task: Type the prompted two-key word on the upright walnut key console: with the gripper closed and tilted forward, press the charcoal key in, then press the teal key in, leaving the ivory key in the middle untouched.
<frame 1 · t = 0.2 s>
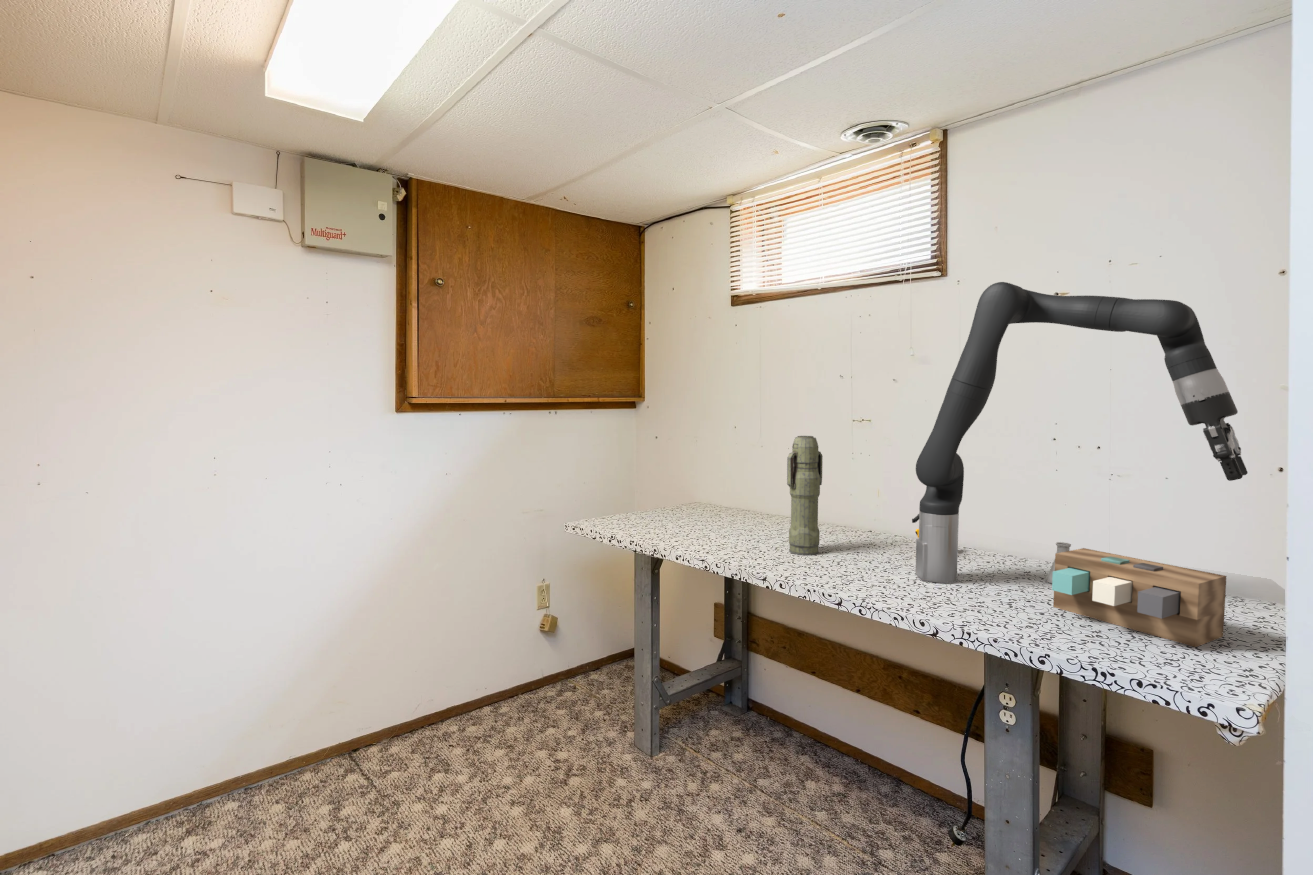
hand: (1238, 477, 120), 31 cm above the table, tool tilted 20°, fingers open, 8 cm apart
key ivory: (1117, 589, 129), point 7 cm above the table, slide at 0.0 cm
flask: (1061, 583, 160), on the table
console: (1118, 625, 130), on the table
robot dog: (928, 556, 188), on the table
thermos: (803, 552, 192), on the table
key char: (1163, 600, 122), point 7 cm above the table, slide at 0.0 cm
key teal: (1075, 579, 136), point 7 cm above the table, slide at 0.0 cm
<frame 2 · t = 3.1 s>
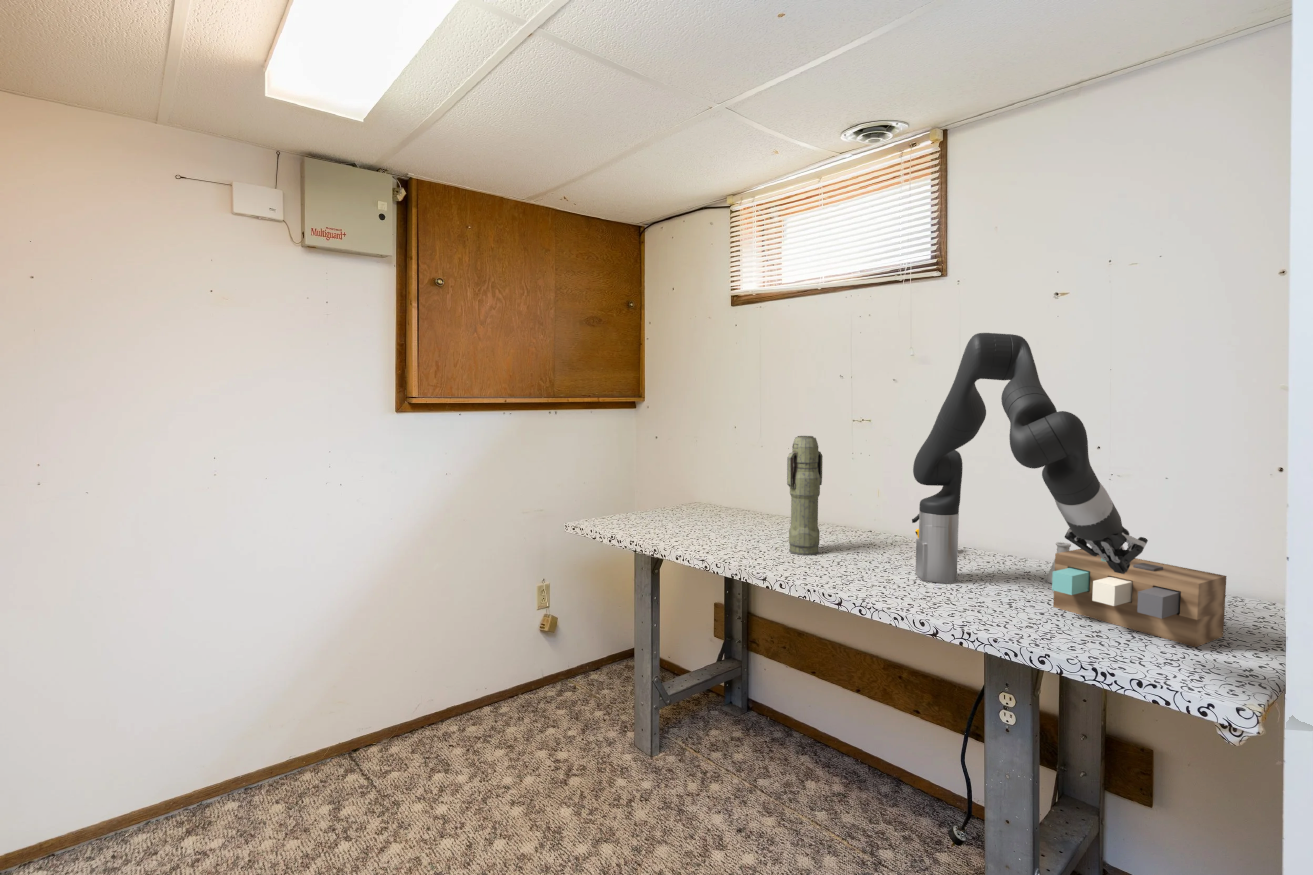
hand: (1121, 569, 114), 16 cm above the table, tool tilted 45°, fingers closed
nothing on the table moved.
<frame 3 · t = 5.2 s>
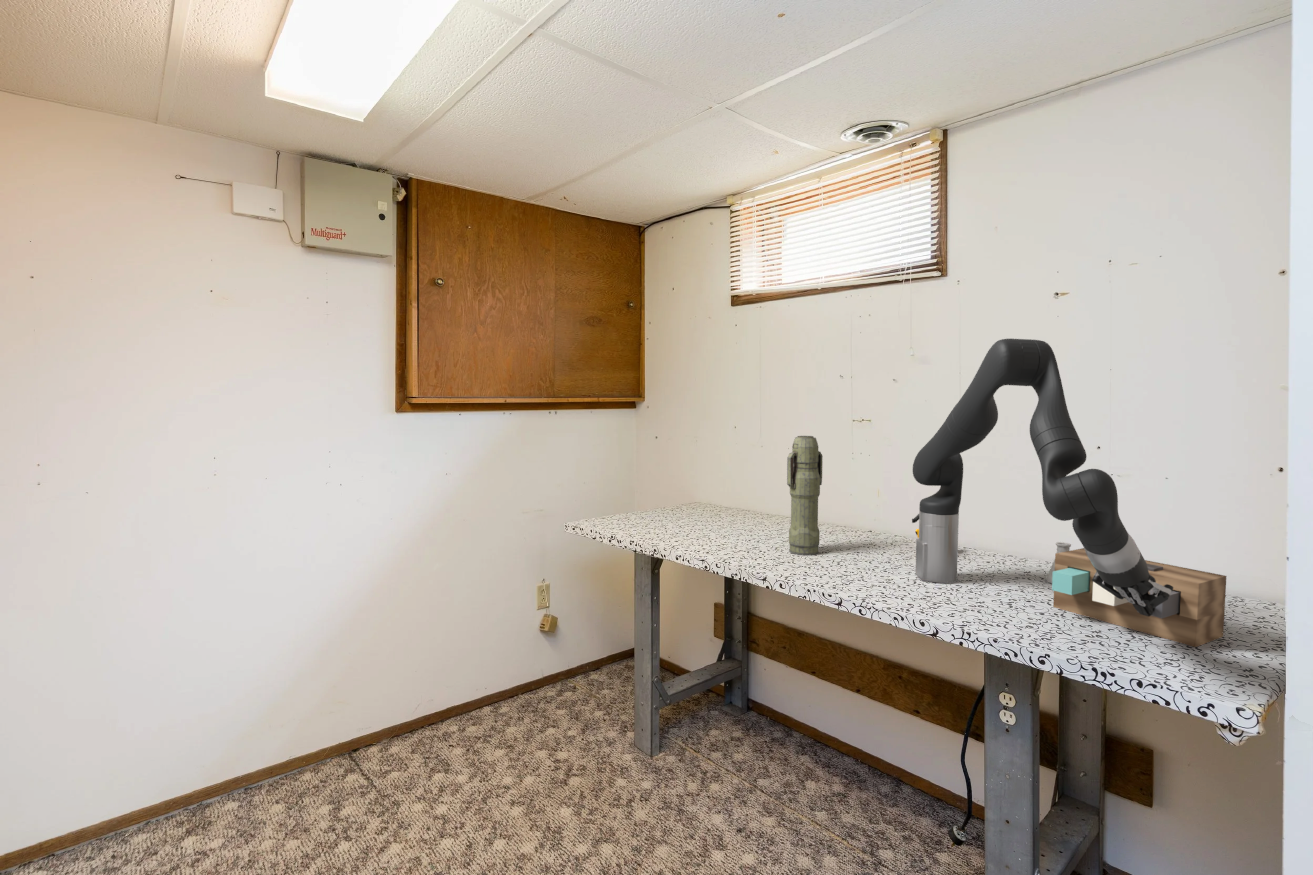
hand: (1147, 611, 120), 6 cm above the table, tool tilted 45°, fingers closed
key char: (1163, 600, 122), point 7 cm above the table, slide at 0.0 cm, touching gripper
everything else where it was.
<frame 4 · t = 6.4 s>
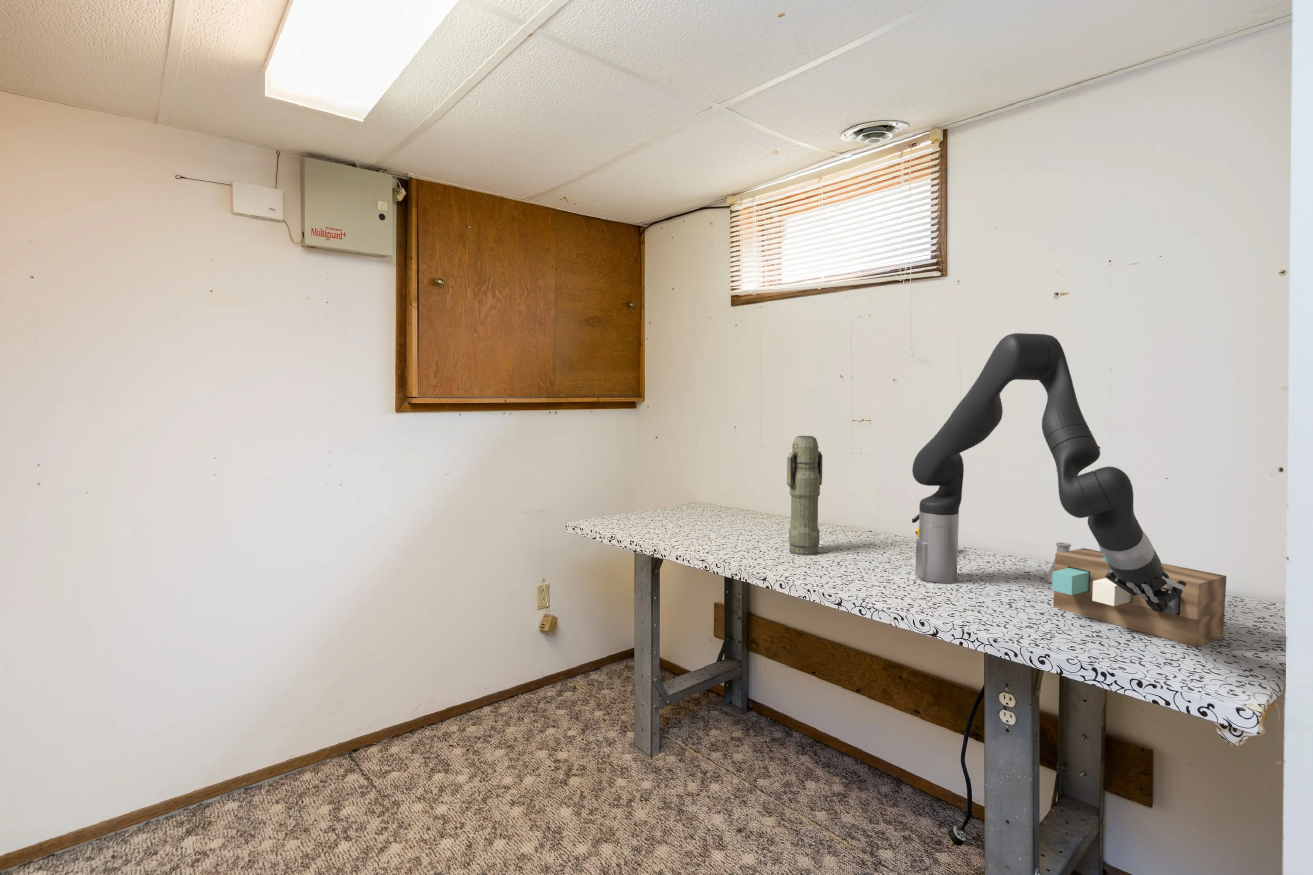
hand: (1159, 607, 122), 6 cm above the table, tool tilted 45°, fingers closed
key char: (1175, 597, 124), point 7 cm above the table, slide at 4.5 cm, touching gripper
everything else where it was.
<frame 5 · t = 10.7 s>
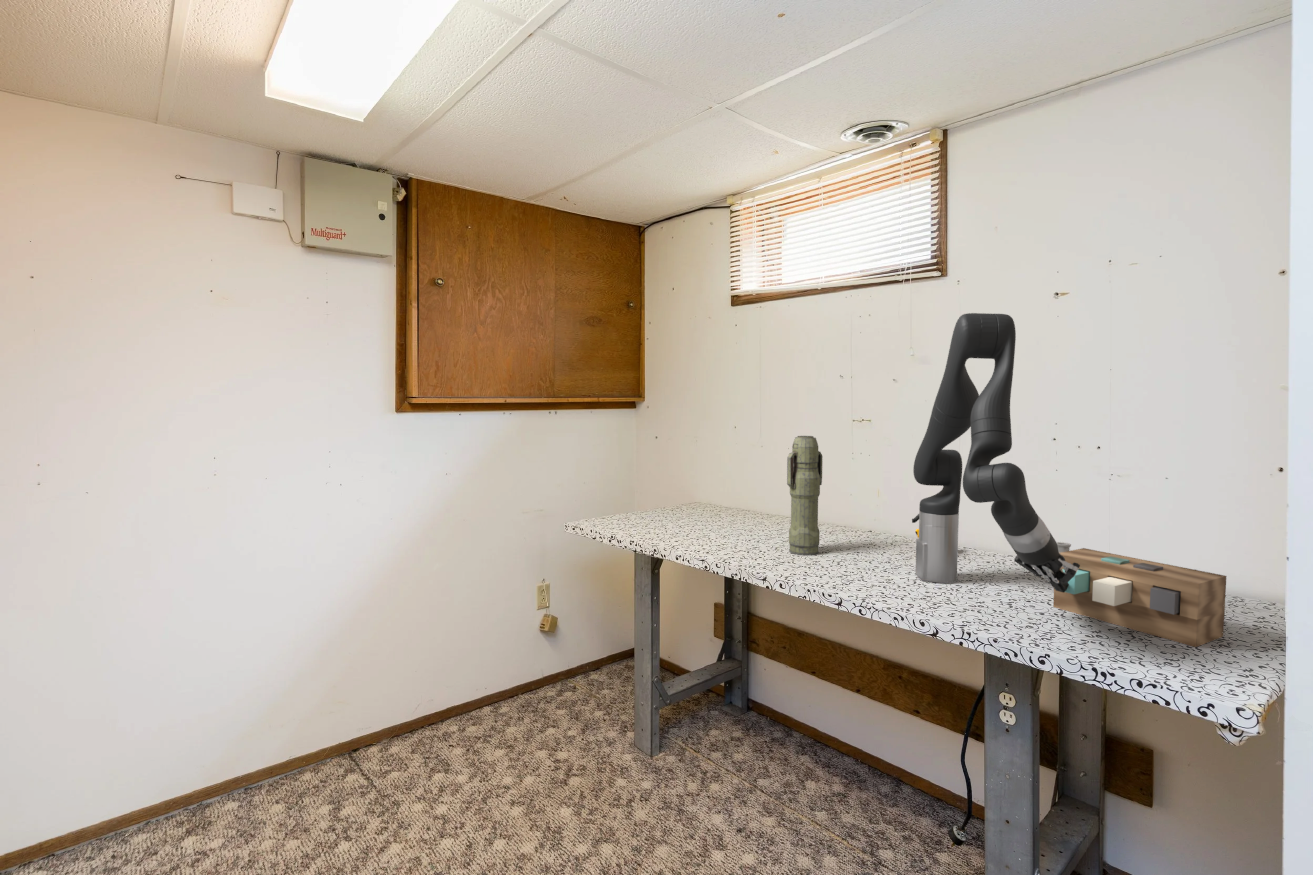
hand: (1062, 588, 134), 6 cm above the table, tool tilted 45°, fingers closed
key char: (1175, 597, 124), point 7 cm above the table, slide at 4.6 cm
key teal: (1078, 579, 137), point 7 cm above the table, slide at 1.0 cm, touching gripper
everything else where it was.
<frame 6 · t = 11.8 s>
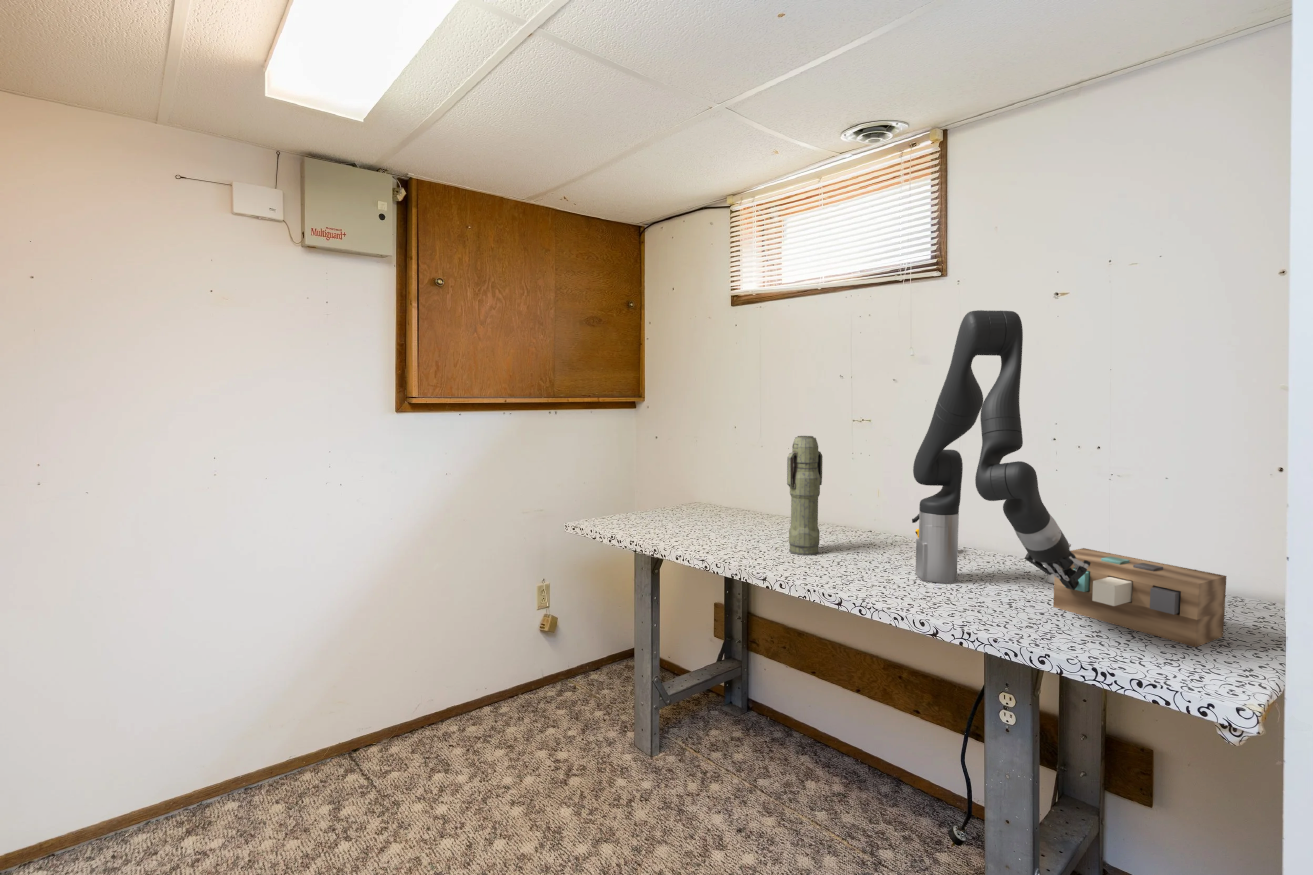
hand: (1072, 585, 136), 6 cm above the table, tool tilted 45°, fingers closed
key teal: (1087, 577, 138), point 7 cm above the table, slide at 4.6 cm, touching gripper
everything else where it was.
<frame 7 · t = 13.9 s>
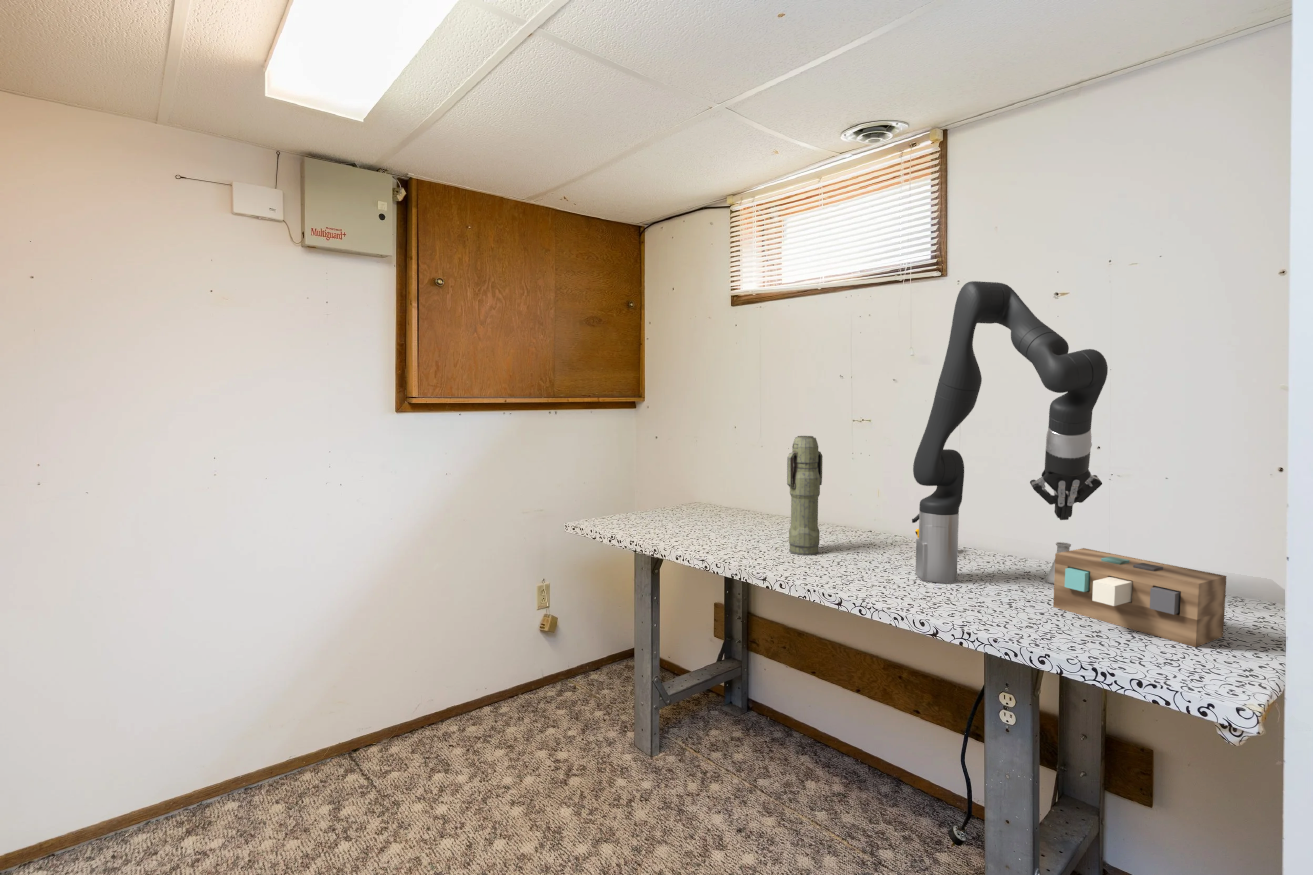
hand: (1062, 517, 134), 21 cm above the table, tool tilted 25°, fingers closed
key teal: (1087, 577, 138), point 7 cm above the table, slide at 4.6 cm
everything else where it was.
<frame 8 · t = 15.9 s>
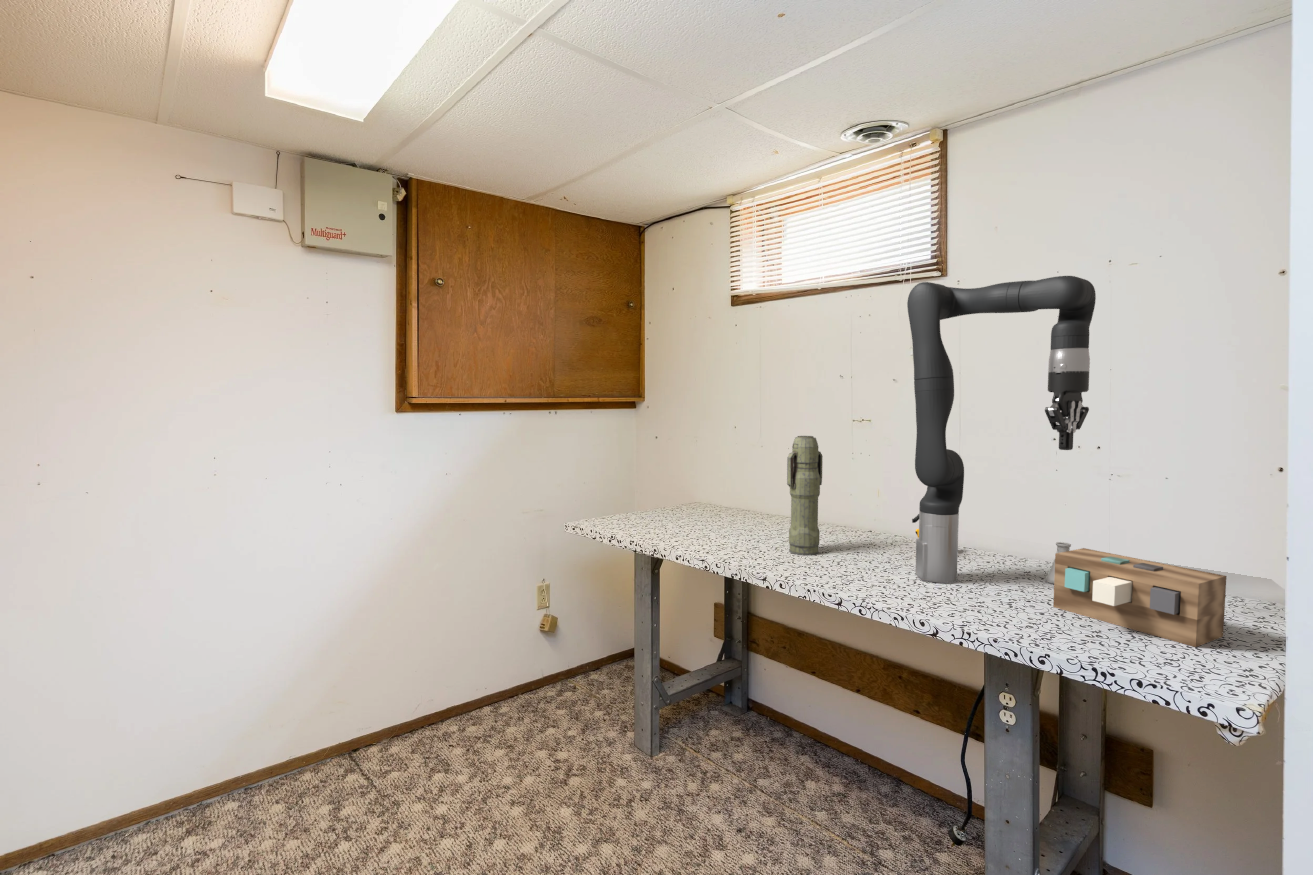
hand: (1065, 449, 140), 35 cm above the table, tool pointing down, fingers closed
nothing on the table moved.
at the end: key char slide at 4.6 cm; key teal slide at 4.6 cm; key ivory slide at 0.0 cm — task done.
